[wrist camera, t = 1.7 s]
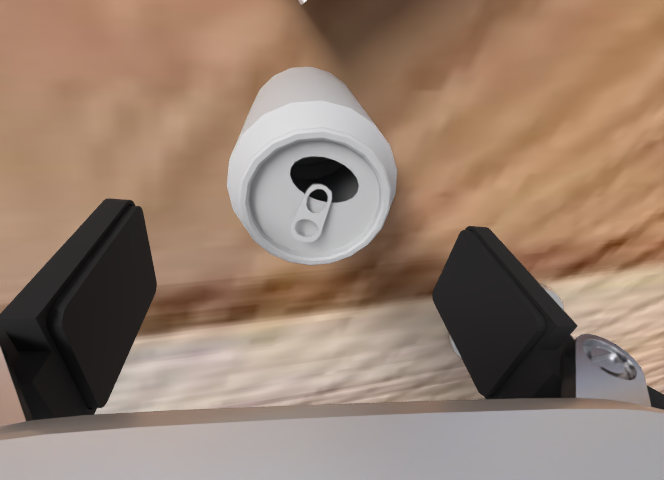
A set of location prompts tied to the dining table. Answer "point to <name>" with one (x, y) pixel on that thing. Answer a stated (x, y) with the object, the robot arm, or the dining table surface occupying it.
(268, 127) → the can
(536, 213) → the dining table surface
